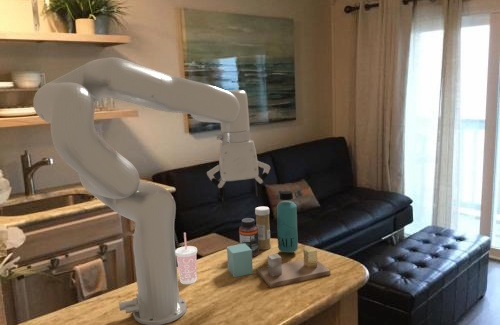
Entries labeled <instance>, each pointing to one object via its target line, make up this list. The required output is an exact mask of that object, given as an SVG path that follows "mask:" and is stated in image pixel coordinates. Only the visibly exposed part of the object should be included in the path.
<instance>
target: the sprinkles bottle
mask: <svg viewBox="0 0 500 325" xmlns="http://www.w3.org/2000/svg"><path fill="white" fill-rule="evenodd" d="M254 214H255V223H256V224H255V225H256V226H257V227H258V239H259V250H262V251H263V250H264V251H265V250H269V249H271V247H272V246H271V230H270V228H271V226H270V225H271V224H270V208H269V207H268V206H258V207H255V208H254Z"/></svg>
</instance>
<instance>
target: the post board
mask: <svg viewBox="0 0 500 325" xmlns="http://www.w3.org/2000/svg"><path fill="white" fill-rule="evenodd" d="M256 274H257V275H258V276H260V278H261V279H262V280H263V281H264V282H265V284H267V285H268V287H270V288H276V287H280V286H284V285H289V284H294V283H298V282H302V281H307V280H312V279H316V278H320V277H325V276H330V275H331V270H330V269H329V268H328V267H326V266H325V265H324V264H323V263H321V262H320V261H319V260H317V267H315V268H310V269H308V268H307V267H306V266H304V258H303V259H299V260H294V261H289V262H284V263H282V257H281V255H279V254H278V253H274V254H270V255H269V254H268V255H267V266H265V267H258V268H256Z"/></svg>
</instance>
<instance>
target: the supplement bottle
mask: <svg viewBox="0 0 500 325" xmlns="http://www.w3.org/2000/svg"><path fill="white" fill-rule="evenodd" d="M255 223H256V221H255V219H254V218H251V217H245V218H243V219H241V225H240V226H239V227H238V233H239V234H238V235H239V244H244V243H245V244H246V245H247V246H248V247H249V248H250V249H251V250H252V258H253V257H256V256H258V255H259V253H260V249H259V239H258V227H257V226H256V224H255Z"/></svg>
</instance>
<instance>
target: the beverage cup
mask: <svg viewBox="0 0 500 325" xmlns="http://www.w3.org/2000/svg"><path fill="white" fill-rule="evenodd" d="M183 239H184V246H181V247H178V248H175V253H176V264H177V271H178V275H179V282H180V283H181V284H183V285H191V284H194V283H196V282H197V278H198V276H197V275H198V273H197V272H198V270H197V269H198V267H197V253H198V248H197V247H196V246H193V245H187V233H186V232H183Z"/></svg>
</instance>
